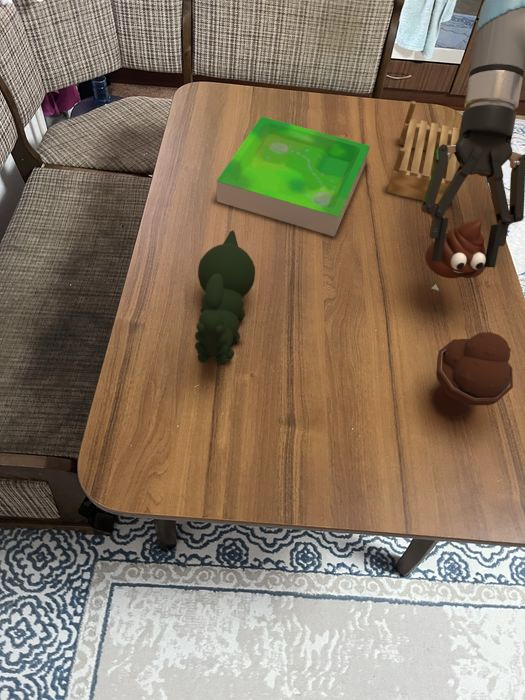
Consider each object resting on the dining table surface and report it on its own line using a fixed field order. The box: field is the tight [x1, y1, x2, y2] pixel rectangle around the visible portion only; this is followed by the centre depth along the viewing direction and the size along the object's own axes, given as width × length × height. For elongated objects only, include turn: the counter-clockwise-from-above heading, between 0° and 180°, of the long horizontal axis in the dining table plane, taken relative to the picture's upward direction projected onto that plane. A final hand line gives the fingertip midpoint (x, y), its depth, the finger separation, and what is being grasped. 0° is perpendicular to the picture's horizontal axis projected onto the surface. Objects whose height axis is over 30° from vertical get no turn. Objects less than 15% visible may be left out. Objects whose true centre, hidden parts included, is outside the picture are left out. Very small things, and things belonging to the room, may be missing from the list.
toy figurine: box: [194, 230, 256, 366], centre depth 83 cm, size 9×19×25 cm
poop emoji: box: [424, 219, 487, 279], centre depth 84 cm, size 10×8×9 cm
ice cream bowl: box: [434, 331, 514, 418], centre depth 78 cm, size 11×11×15 cm
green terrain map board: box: [216, 116, 371, 238], centre depth 111 cm, size 25×25×5 cm
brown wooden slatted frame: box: [386, 100, 460, 205], centre depth 114 cm, size 13×20×10 cm, turn 164°
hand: (462, 263), depth 83 cm, fingers closed on poop emoji, 8 cm apart
